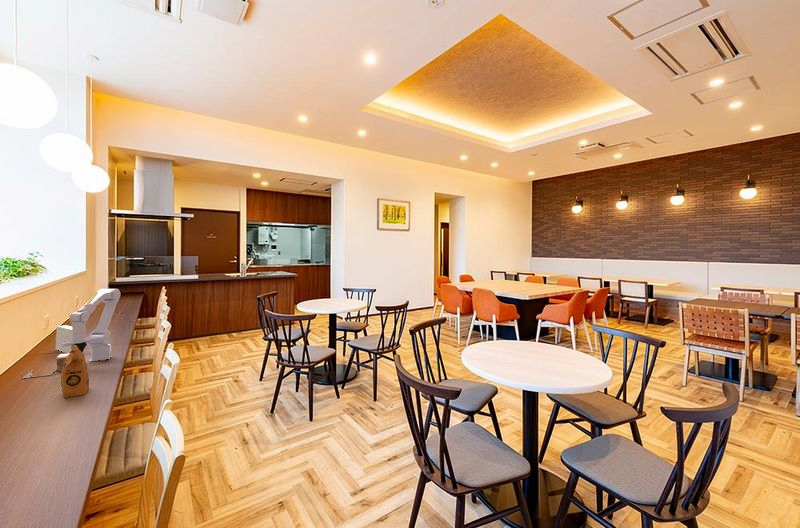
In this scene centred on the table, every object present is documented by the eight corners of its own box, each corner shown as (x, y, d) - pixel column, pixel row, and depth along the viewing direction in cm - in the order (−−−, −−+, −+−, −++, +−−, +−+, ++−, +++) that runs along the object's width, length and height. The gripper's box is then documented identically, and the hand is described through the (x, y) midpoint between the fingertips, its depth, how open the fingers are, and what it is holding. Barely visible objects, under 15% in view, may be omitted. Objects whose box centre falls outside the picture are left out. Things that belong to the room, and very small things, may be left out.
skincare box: (82, 352, 221) (81, 328, 220) (71, 354, 216) (71, 330, 215) (66, 347, 230) (65, 324, 229) (55, 349, 225) (55, 326, 224)
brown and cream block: (69, 367, 195) (69, 353, 195) (66, 370, 190) (66, 356, 190) (60, 368, 193) (60, 354, 193) (56, 371, 188) (56, 357, 188)
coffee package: (58, 400, 155) (57, 352, 154) (62, 390, 164) (62, 345, 164) (87, 394, 161) (87, 349, 160) (90, 386, 171) (90, 342, 170)
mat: (62, 364, 199) (62, 363, 199) (51, 375, 182) (51, 374, 182) (36, 367, 193) (36, 366, 193) (21, 379, 176) (21, 378, 176)
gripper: (91, 329, 203) (91, 351, 203) (58, 334, 190) (59, 358, 190) (97, 330, 200) (97, 353, 200) (65, 336, 187) (65, 360, 187)
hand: (79, 356), depth 195 cm, fingers closed
